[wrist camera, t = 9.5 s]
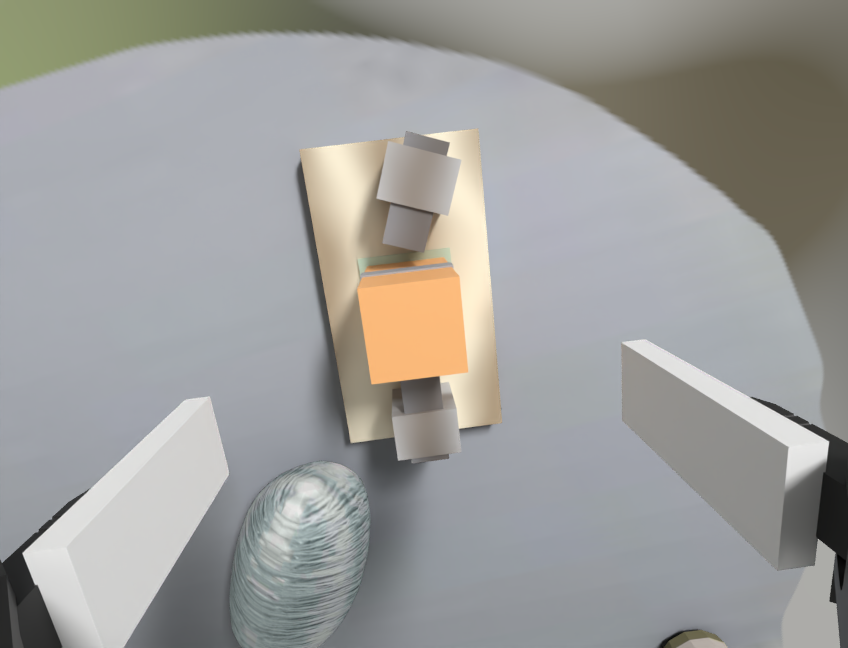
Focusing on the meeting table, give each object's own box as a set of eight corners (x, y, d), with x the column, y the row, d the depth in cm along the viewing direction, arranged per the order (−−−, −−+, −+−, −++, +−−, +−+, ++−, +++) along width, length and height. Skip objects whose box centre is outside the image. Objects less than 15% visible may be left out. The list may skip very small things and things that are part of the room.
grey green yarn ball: (349, 650, 36) (273, 738, 27) (256, 583, 39) (158, 641, 30) (419, 486, 37) (368, 515, 27) (320, 432, 40) (245, 443, 30)
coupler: (365, 264, 30) (354, 287, 23) (444, 255, 31) (461, 274, 23) (376, 341, 32) (369, 386, 24) (452, 331, 32) (470, 373, 24)
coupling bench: (352, 433, 35) (344, 477, 30) (303, 151, 30) (282, 140, 24) (497, 413, 36) (517, 454, 30) (474, 131, 30) (492, 116, 25)
